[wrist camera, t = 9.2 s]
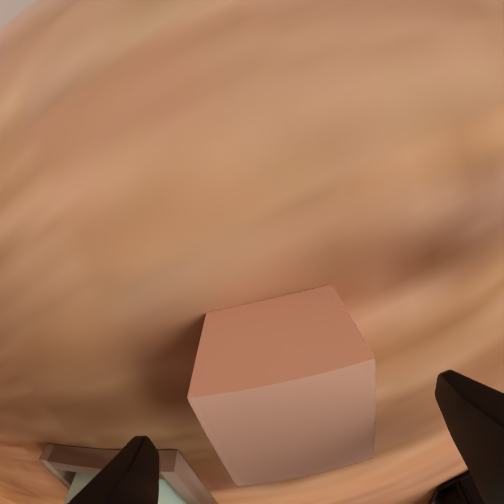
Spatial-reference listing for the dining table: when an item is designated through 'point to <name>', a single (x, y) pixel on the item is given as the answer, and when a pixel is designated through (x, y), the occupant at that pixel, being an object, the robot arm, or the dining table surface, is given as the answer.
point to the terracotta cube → (285, 387)
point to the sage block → (168, 496)
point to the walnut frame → (94, 460)
